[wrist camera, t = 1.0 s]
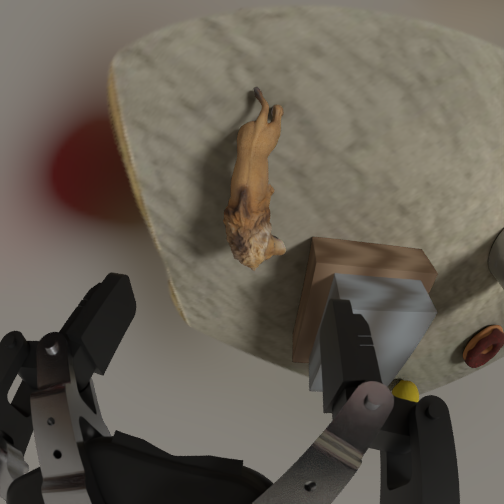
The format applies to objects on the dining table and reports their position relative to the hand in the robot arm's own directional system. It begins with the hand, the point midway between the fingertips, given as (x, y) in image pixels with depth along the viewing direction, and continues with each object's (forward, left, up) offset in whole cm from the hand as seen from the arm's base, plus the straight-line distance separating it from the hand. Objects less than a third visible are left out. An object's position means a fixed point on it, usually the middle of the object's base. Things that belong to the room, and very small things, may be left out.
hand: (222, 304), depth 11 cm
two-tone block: (-13, +15, -19) cm, 27 cm away
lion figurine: (0, 0, -19) cm, 19 cm away
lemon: (-30, +36, -19) cm, 51 cm away
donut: (-45, +25, -19) cm, 55 cm away
